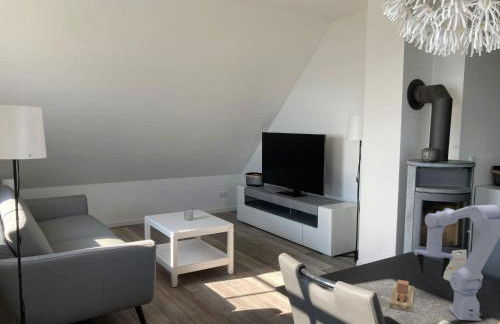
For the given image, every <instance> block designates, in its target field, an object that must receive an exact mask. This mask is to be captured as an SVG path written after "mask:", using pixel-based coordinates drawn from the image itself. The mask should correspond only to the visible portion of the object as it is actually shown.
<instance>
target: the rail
mask: <svg viewBox="0 0 500 324" xmlns="http://www.w3.org/2000/svg"><path fill="white" fill-rule="evenodd" d="M397 283H398V282H396V283H395V282H394V285H393V290H392V293H391V297H390V301H389V308H390V309H396V310H399V311H400V310H401V311H405V312H413V304H414V296H415V286H414V285H410V284H409V285H408V295H407V294H405V299H404V302H400V298H399V294H400V293H397Z"/></svg>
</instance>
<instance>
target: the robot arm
mask: <svg viewBox="0 0 500 324" xmlns="http://www.w3.org/2000/svg"><path fill="white" fill-rule="evenodd" d="M464 218H467V219H470V220H471V221H472V223H473V225H474V226H475V228H476V230H477V231H478V232H480V234H479V236H478V239H477V240H476V242H475V244H474V246H473V248H472V250H471V252H470V254H469V256H467V261H466V263H465V265H464V266H463V267H462V268H460V269H459V270H457V271H456V273H455V274H454V275H452V276H451V278H450V281H449V284H450V287H451V288H452V290H453V305H452V306H451V307H450V306H449V307H448V310H449V311H450V312H451V313H452V314H453V315H454V316H455V318H457V319H458V320H459V321H475V322H477V321H479V322H480V321H482V319H481V317H480V308H481V307H480V302H479V300H478V298H477V296H476V295H477V293H478V290H479V289H481V287H482V285H483V284H482V283H483V282H482V281H483V279H484V275H483V274H482V270H483V268H484V267H485V265H486V263H487V261H488V259H489V257H490V255H491V254H492V252H493V251H494V249H495V246H496V244H497V243H498V241H499V239H500V205H499V204H496V203H494V204H493V203H492V204H480V205H479V204H474V205H467V206H465V207H462V208H458V209H456V210H455V209H453V208H450V207H446V208H443V210H442V211H441V210H438V211H436V212H435V213H427V214H426V215H425V217H424V223H425V225H426V226H427V233H426V249H417V248H416V249H414V255H415V256H417V257H416V258H417V260H418V263H419V265H420V271H421V274H424V270H425V269H424V258H425V257H428V258H429V257H431V258H437V259H442V267H441V277H443V276H444V272H445V270H446V268H447V266H448V265H449V263H450V260H453V254H452V253H447V252H444V251H443V252H442V249H443V248H442V247H443V232H444V231H445V228H446V226H449V225H453V224H456V223H457V222H458V220H459V219H464Z"/></svg>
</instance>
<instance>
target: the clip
mask: <svg viewBox="0 0 500 324" xmlns="http://www.w3.org/2000/svg"><path fill="white" fill-rule="evenodd" d="M396 283H397V293H400V294H399V298H400V302H404V299H405V294H407V295H408V285H409V286H410V284H409V283H410V282H409V281H408V280H402V279H397V282H396Z"/></svg>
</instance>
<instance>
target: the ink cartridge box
mask: <svg viewBox="0 0 500 324" xmlns="http://www.w3.org/2000/svg"><path fill="white" fill-rule="evenodd" d="M467 251H468V250H467V249H456V250H452V251H451V254H453V260H450V263H449V265H448V266H447V268H446V270H445V272H444V276H442V277H443V279H444V280H446V281H448V282H450V278H451V276H452V275H454V274H455V273H456V271H457V270H459V269H460V268H462V267H463V266H464V265H465V263H466V261H467V259H468V256H467V253H468V252H467Z"/></svg>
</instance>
